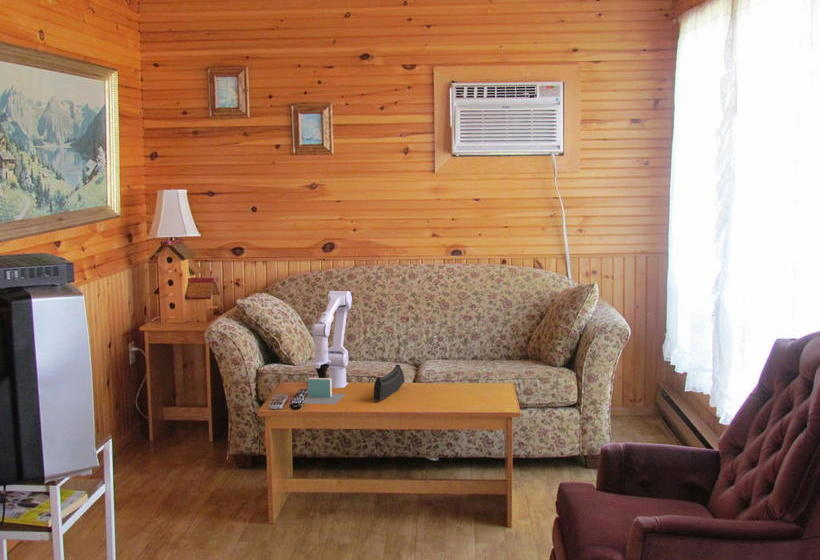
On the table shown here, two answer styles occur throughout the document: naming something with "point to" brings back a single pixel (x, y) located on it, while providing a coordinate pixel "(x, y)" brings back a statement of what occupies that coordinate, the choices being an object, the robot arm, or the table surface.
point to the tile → (320, 387)
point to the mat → (323, 399)
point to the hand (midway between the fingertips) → (322, 381)
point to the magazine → (388, 384)
